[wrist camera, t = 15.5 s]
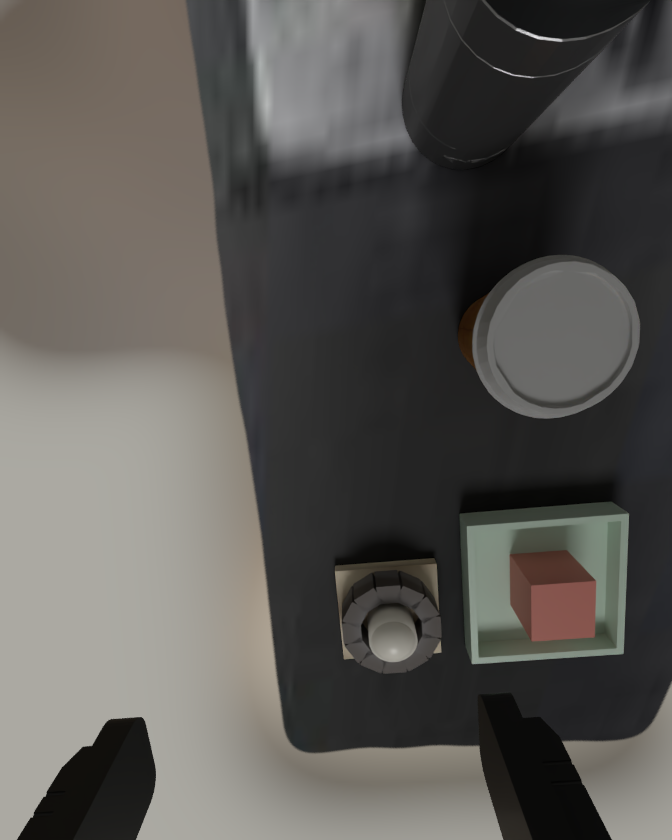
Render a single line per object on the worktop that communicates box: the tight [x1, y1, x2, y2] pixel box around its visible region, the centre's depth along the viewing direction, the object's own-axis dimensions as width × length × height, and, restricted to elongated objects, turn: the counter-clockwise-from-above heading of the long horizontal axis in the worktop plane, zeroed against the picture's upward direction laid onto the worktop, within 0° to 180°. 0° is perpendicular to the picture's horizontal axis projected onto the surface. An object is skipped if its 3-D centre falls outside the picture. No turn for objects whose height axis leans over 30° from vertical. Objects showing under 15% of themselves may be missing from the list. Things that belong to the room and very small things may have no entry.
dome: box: [367, 603, 418, 662], centre depth 40 cm, size 4×4×4 cm
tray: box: [459, 502, 629, 664], centre depth 42 cm, size 13×13×3 cm
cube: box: [510, 550, 596, 642], centre depth 40 cm, size 5×5×5 cm
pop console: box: [335, 558, 442, 674], centre depth 42 cm, size 9×9×4 cm
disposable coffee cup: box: [458, 255, 640, 418], centre depth 33 cm, size 10×10×12 cm
